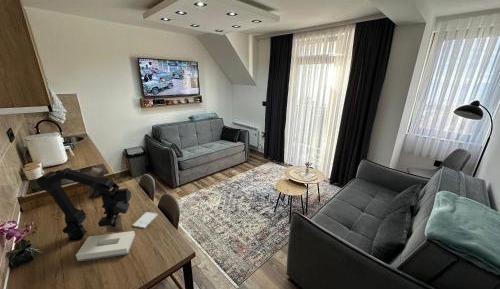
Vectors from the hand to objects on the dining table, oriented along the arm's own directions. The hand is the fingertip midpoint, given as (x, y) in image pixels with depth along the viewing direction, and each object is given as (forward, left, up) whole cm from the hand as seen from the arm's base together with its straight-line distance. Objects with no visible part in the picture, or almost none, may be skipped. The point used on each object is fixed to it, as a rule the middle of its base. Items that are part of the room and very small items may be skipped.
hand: (115, 225), depth 115 cm
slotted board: (0, -11, -6) cm, 12 cm away
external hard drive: (+13, +8, -6) cm, 17 cm away
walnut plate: (0, 0, -4) cm, 4 cm away
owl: (-28, +44, -6) cm, 53 cm away
